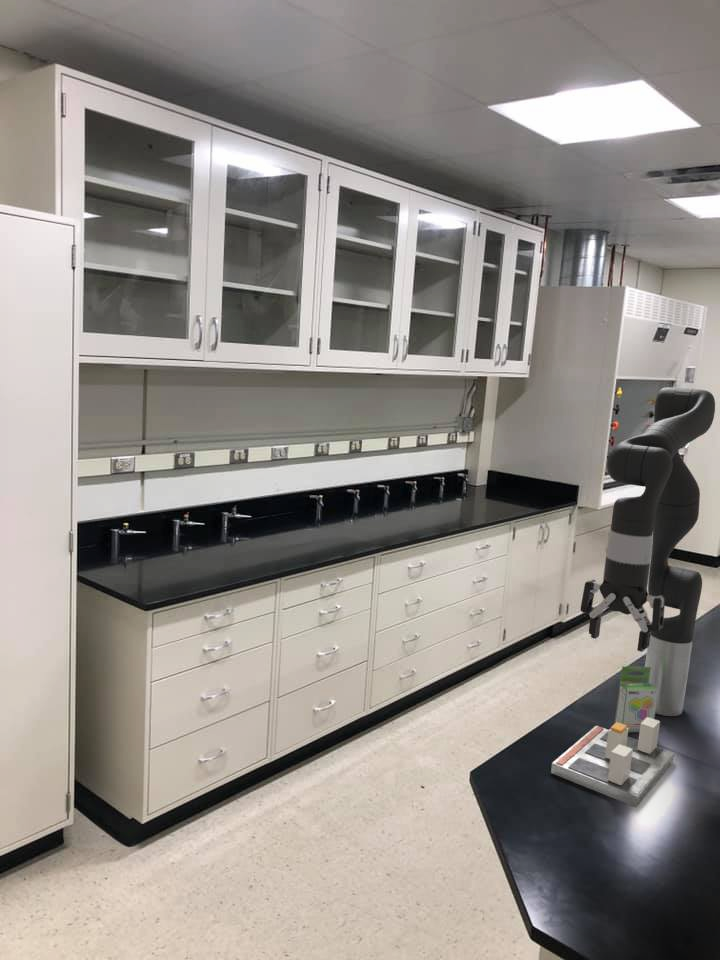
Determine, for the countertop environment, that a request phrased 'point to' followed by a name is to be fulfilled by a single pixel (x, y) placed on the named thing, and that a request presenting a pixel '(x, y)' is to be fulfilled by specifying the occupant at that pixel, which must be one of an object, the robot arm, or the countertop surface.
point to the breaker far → (648, 735)
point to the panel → (592, 767)
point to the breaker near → (620, 764)
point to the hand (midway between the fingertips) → (617, 643)
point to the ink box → (635, 698)
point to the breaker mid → (616, 738)
